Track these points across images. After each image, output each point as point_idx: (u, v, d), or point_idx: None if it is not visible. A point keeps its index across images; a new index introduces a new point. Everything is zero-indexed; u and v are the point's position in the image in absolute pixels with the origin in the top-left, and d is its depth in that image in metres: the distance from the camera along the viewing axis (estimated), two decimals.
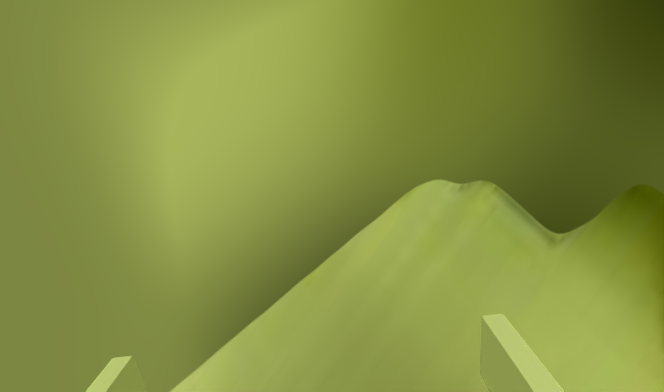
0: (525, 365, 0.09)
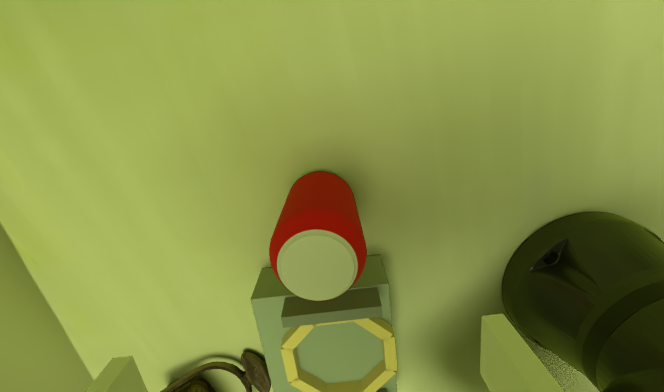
0: (525, 365, 0.09)
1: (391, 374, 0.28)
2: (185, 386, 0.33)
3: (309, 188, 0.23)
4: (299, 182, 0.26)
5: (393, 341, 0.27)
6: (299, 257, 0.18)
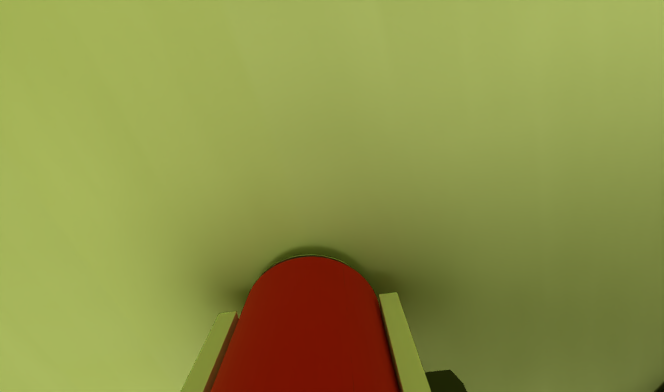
0: (395, 331, 0.11)
1: None
2: None
3: (278, 344, 0.09)
4: (263, 290, 0.12)
5: None
6: None
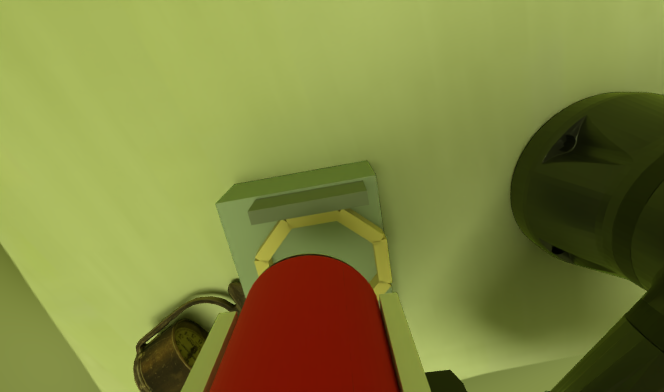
0: (395, 331, 0.11)
1: (386, 287, 0.24)
2: None
3: (277, 342, 0.09)
4: (263, 289, 0.12)
5: (385, 244, 0.23)
6: None
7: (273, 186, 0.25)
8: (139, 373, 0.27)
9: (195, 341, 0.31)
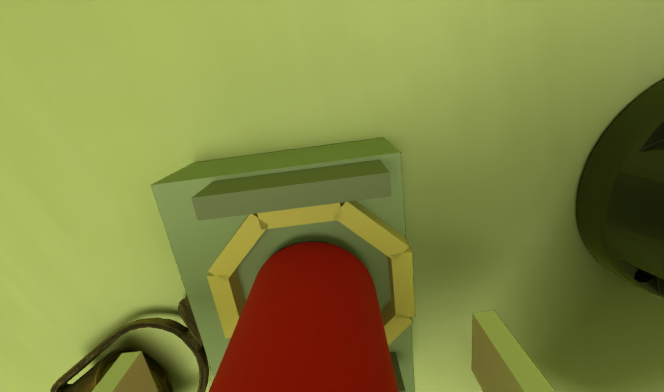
0: (513, 361, 0.09)
1: (405, 324, 0.16)
2: (99, 361, 0.21)
3: (283, 310, 0.10)
4: (270, 270, 0.13)
5: (409, 260, 0.15)
6: None
7: (244, 165, 0.17)
8: None
9: None
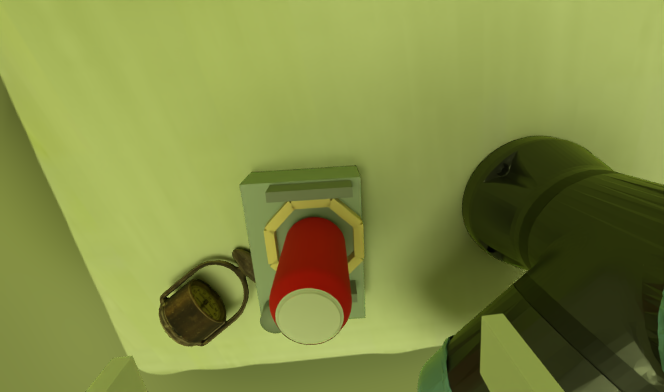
0: (525, 365, 0.09)
1: (359, 261, 0.32)
2: None
3: (306, 239, 0.26)
4: (297, 227, 0.29)
5: (362, 228, 0.31)
6: (294, 309, 0.21)
7: (283, 177, 0.32)
8: (163, 316, 0.35)
9: (206, 297, 0.39)
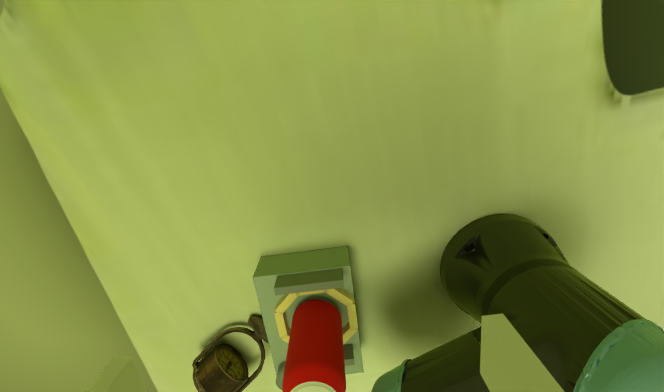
0: (525, 365, 0.09)
1: (354, 331, 0.39)
2: (213, 349, 0.44)
3: (308, 328, 0.33)
4: (301, 312, 0.36)
5: (354, 306, 0.38)
6: None
7: (287, 265, 0.40)
8: (197, 381, 0.42)
9: (230, 357, 0.46)
